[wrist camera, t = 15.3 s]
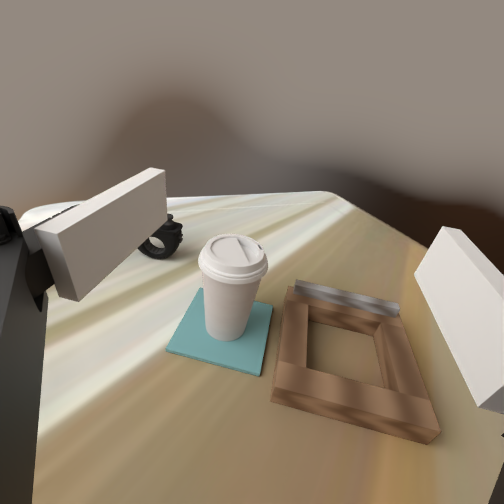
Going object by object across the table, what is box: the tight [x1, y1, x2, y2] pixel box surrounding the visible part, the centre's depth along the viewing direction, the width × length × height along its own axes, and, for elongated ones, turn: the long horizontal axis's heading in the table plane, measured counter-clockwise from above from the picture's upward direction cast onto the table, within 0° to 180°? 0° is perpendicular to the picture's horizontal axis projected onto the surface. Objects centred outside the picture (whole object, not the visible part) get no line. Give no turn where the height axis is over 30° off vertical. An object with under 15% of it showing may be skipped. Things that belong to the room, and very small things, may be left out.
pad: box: [166, 288, 273, 376], centre depth 44 cm, size 14×14×1 cm
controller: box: [138, 214, 183, 259], centre depth 55 cm, size 4×12×10 cm, turn 84°
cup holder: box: [270, 280, 441, 445], centre depth 41 cm, size 20×20×6 cm
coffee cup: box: [198, 234, 268, 341], centre depth 40 cm, size 10×10×15 cm
